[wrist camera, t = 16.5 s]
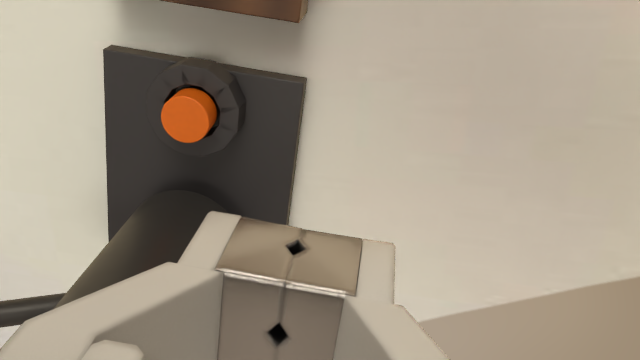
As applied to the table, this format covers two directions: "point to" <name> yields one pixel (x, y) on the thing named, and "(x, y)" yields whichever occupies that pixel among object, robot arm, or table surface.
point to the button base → (214, 148)
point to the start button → (188, 115)
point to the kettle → (128, 250)
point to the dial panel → (256, 7)
